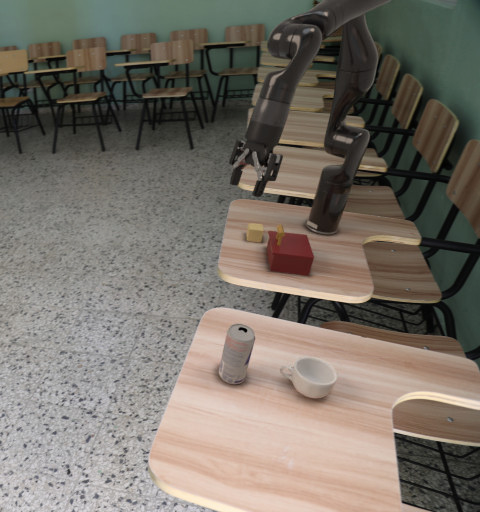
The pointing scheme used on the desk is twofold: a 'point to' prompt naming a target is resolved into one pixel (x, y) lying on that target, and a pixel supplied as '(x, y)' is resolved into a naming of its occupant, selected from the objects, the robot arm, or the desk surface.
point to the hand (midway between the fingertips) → (244, 190)
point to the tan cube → (255, 232)
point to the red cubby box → (288, 263)
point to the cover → (290, 244)
